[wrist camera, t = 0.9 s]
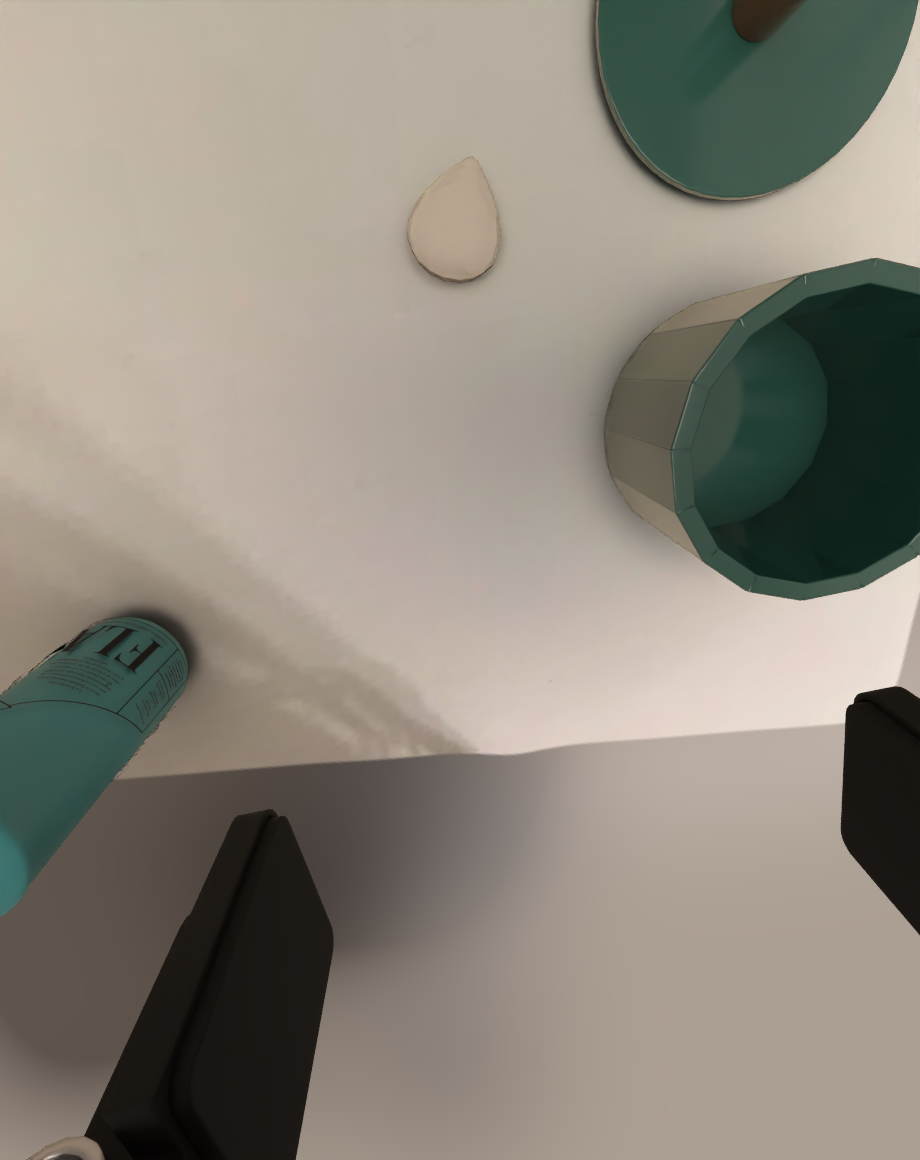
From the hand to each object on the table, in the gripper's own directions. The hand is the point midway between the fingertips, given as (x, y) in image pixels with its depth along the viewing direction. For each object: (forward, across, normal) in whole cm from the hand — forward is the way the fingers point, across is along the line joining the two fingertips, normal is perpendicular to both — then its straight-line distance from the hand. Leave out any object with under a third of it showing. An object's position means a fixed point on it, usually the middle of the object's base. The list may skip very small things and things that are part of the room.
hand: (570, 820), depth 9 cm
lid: (+23, -16, -18) cm, 33 cm away
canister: (+24, -14, -1) cm, 27 cm away
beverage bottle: (+24, +21, +5) cm, 32 cm away
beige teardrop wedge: (+24, -2, -13) cm, 27 cm away
